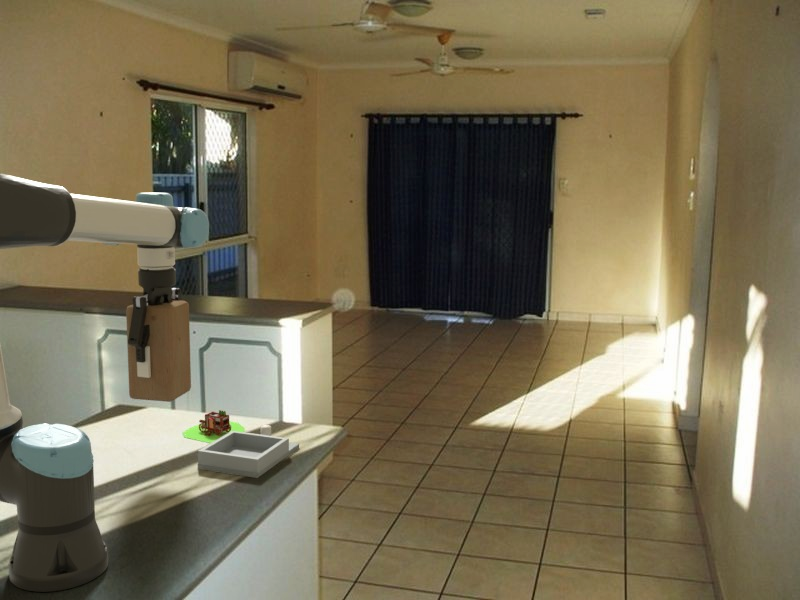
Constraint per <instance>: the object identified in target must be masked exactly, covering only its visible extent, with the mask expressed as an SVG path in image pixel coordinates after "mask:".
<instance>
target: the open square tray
mask: <svg viewBox="0 0 800 600" xmlns="http://www.w3.org/2000/svg"><path fill="white" fill-rule="evenodd" d="M289 439H290V438H289V437H280V436H274V435H272V426H271V425H269V424H264V425H260V434H259V433H253V432H246V431H245V432H239V431H231V432H229V433H227V434H226V435H224V436H222V437H221V438H219V439H217V440H215V441H214V442H212V443H208V444H207V445H206V446H204V447H202V448H200V449H198V450H197V462H198V463H197V469H198V470H202V471H209V472H217V473H223V474H229V475H233V476H234V475H236V476H242V477H247V478H248V477H249V478H254V479H255V478H256V479H258V478H259V477H261V476H262V475H263V474H265V473H266V472H268V471H269V470H270V469H272V468H274V467H275V466H277V464H279V463H280V462H282V461H283V460H285V458H287V457H289V456H290V455H291V454H293V453H294V452H295V451H297V450H298V449H300V443H296V442H290V440H289Z"/></svg>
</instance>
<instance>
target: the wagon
mask: <svg viewBox="0 0 800 600" xmlns="http://www.w3.org/2000/svg"><path fill="white" fill-rule="evenodd" d="M198 423H199V424H197V425H194V426H191V427H189V428H187V429H186V430H184V431H183V432H182V436H183V437H184V438H186V439H190V440H194V441H199V442H202V443H207V442H208V443H207V444H210V443H212V442H214V441H215V440H217V439H219V438H221V437H222V436H224V435H226V434H227V433H229V432H231V431H239V432H246V429H245V427H244V426H243V425H242V424H240V423H238V422H234V421H230V414H227V412H226V410H221V409H219V410H218V412H215V411H211V412H209V413H205V414H204V420H203V419H199V422H198ZM185 434H186V435H185Z"/></svg>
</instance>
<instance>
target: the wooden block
mask: <svg viewBox="0 0 800 600" xmlns="http://www.w3.org/2000/svg"><path fill="white" fill-rule="evenodd" d="M125 312H126V313H125V314H126V316H125V318H126V343H127V344H126V345H127V365H128V366H127V369H128V371H127V372H128V392H129V397H130V399H133V400H142V401H143V400H144V401H153V402H154V401H155V402H157V401H158V402H169V403H171V402H173V401H175V400H177V399H178V398H180V397H181V396H183V395H185V394H186V393H188V392H190V391H191V388H192V384H191V383H192V376H191V375H192V374H191V371H192V370H191V342H190V341H191V336H190V335H191V334H190V329H191V328H190V304H189V302H188V301H185V300H182V301H179V300H172V302H169V303H168V302H165V303H163V304H162V305H158V306H157V305H154V306H151V305H147V311H146V318H145V324H144V325H149V327H150V336H149V340H148V343H147V346H150V368H151V377H150V378H146V377H138V376H137V361H136V347H135V346H131V345H129V344H128V338H129V332H130V325H131V319H132V313H133V304H130V305H128V306H127V307H126V311H125ZM134 339H135V338H134ZM142 341H143V339H142Z"/></svg>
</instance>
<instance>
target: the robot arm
mask: <svg viewBox="0 0 800 600" xmlns="http://www.w3.org/2000/svg"><path fill="white" fill-rule="evenodd" d="M209 235H210V221H209V218H208V216H207V214H206V213H205V211H203V210H202V209H200V208H194V207H189V206H185V207H179V206H174V197H173V196H172V194H170V193H169V192H160V191H159V192H152V191H151V192H149V191H147V192H146V191H145V192H138V193H137V194H136V195H135V201H131V200H125V199H124V200H122V199H117V198H116V199H115V198H110V197H109V198H108V197H100V196H92V195H85V194H77V193H76V194H75V193H70V192H69V191H68V190H67V189H66V188H65V187H63V186H60V185H57V184H51V183H44V182H41V181H36V180H31V179H27V178H22V177H20V176H15V175H10V174H6V173H0V250H7V249H18V248H31V247H58V246H61V245H63V244H65V243H66V242H69V241H70V242H87V243H101V244H103V245H107V246H108V245H109V246H110V245H111V246H112V245H113V246H118V245H122V244H124V245H137V246H136V247H137V248H136V249H137V250H136V251H137V254H136V256H137V260H136V261H137V266H138V267H140V268H138V270H137V274H138V275H137V279H138V280H137V281H138V285H139V286H140V287H141V288H142V289H143V290H142V294H141V296H133V297H132V305H133V313H132V319H131V325H130V332H129V338H128V344H129V345H131V346H135V347H136V361H137V376H138V377H146V378H150V377H151V368H150V346H147V343H148V340H149V336H150V327H149V325H144V324H145V318H146V311H147V305H151V306H154V305H157V306H158V305H162V304H163V303H165V302H168V303H169V302H172V300H179V301H183V299H182V289H181V288H179V287H174V286H175V285H177V271H176V268H175V267H174V265H176V251H175V249H176V248H183V249H189V248H192V249H195V248H200V247H202V246H203V245H204V244H205V243H206V241H207V240H208V237H209ZM134 338H135V339H134ZM142 339H143V341H142ZM6 375H7V374H6V369H5V364H4V356H3V351H2V343H1V342H0V503H7V504H11V505H15V506H16V514H17V528H18V531H17V534H16V538H15V541H14V544H13V545H14V546H13V549H12V553H11V557H10V560H9V563H8V574H9V575H8V576H9V581H10V583H11V584H12V585H13V586H15V587H16V588H19V589H21V590H24V591H28V592H38V593H39V592H40V593H41V592H42V593H44V592H45V593H46V592H48V593H49V592H57V591H58V592H59V591H64V590H68V589H72V588H75V587H79V586H82V585H84V584H88V583H90V582H92V581H93V580H95V579H98V577H99V576H101V575H102V574H103V573H104V572H105V571H106V570H107V568H108V566H109V550H108V546H107V544H106V542H105V541H104V540H103V537H102V533H101V531H100V528H99V526H98V523H97V521H96V514H95V513H96V511H95V508H96V506H95V503H96V502H95V480H94V479H95V478H94V477H95V475H94V474H95V473H94V461H95V460H94V455H93V452H92V443H91V441H90V437H89V436H88V435H87V434H86V432H84V431H83V430H81V429H80V428H77V427H75V426H73V425H68V424H65V423H54V424H49V423H38V424H33V425H29V426H26V427H25V426H24V421H23V415H22V411H21V409H20V408H18V407H16V406H14V405H13V404H11V401H10V395H9V389H8V381H7V376H6Z"/></svg>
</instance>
